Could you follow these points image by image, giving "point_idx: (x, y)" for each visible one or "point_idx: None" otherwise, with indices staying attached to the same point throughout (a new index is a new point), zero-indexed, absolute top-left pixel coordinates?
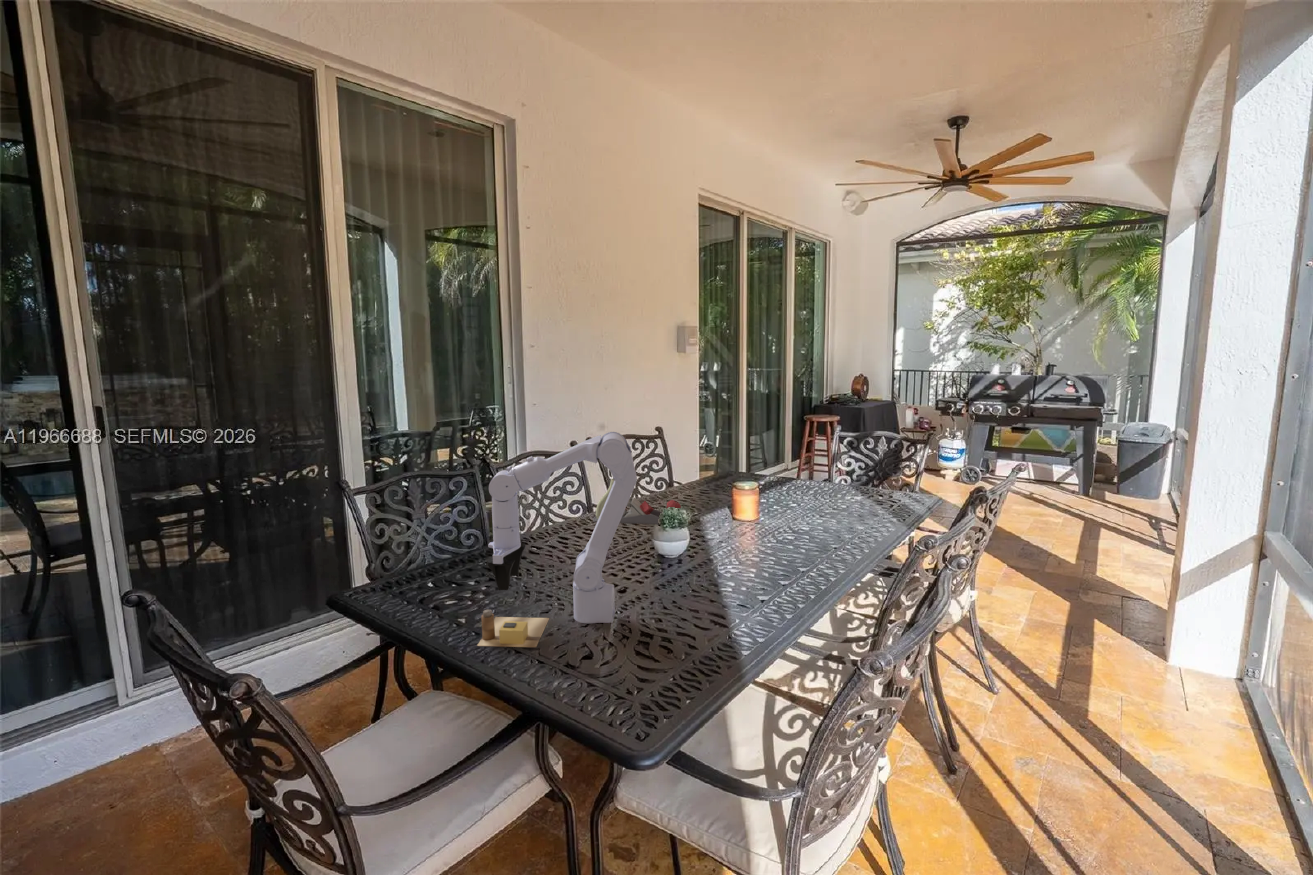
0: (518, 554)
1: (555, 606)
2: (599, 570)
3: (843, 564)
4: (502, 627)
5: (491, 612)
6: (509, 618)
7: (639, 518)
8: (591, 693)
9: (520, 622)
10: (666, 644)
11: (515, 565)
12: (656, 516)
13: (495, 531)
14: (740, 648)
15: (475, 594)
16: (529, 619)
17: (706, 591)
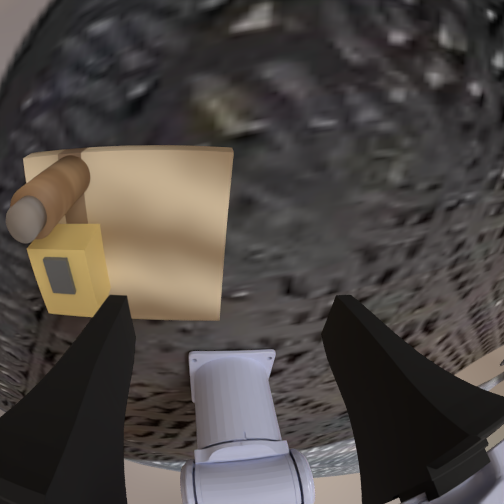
0: (365, 458)
1: (320, 303)
2: None
3: (336, 472)
4: (44, 254)
5: (25, 241)
6: (216, 208)
7: None
8: (11, 373)
9: (90, 300)
10: (156, 435)
11: (349, 382)
12: None
13: None
14: (164, 462)
15: (446, 60)
16: (208, 274)
17: (313, 442)
